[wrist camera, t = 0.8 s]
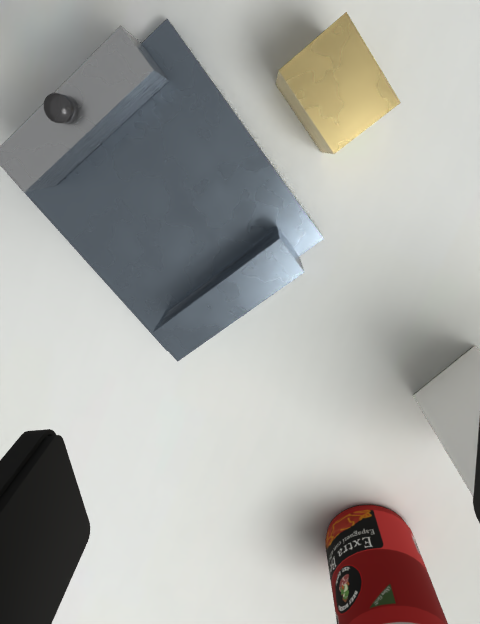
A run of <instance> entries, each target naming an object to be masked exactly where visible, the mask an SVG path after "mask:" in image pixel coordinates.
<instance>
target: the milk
mask: <svg viewBox="0 0 480 624" xmlns="http://www.w3.org/2000/svg"><path fill="white" fill-rule="evenodd" d="M413 397H414V399H415V400H416V402H417V404H418V405H419V407H420V409H421V410H422V412H423V414H424V415H425V417H426V419H427V420H428V422H429V424H430V425H431V427H432V429H433V430H434V432H435V434H436V435H437V437H438V439H439V441H440V442H441V444H442V446H443V447H444V449H445V451H446V452H447V454H448V456H449V457H450V459H451V461H452V462H453V464H454V466H455V467H456V469H457V471H458V472H459V474H460V476H461V477H462V479H463V481H464V482H465V484H466V486H467V487H468V489H469V491H470V492H471V494H472V496H474V483H475V470H476V457H477V444H478V431H479V418H480V349H478V348H477V347H476V346H474V347H472V348H471V349H470V350H469V351H468V352H466V353H465V354H464V355H463V356H461V357H460V358H459V359H458V360H456V361H455V362H454V363H453V364H451V365H450V366H449V367H448V368H446V369H445V370H444V371H443V372H442V373H440V374H439V375H438V376H437V377H435V378H434V379H433V380H432V381H430V382H429V383H428V384H427V385H425V386H424V387H423V388H422V389H420V390H419V391H418V392H417V393H416V394H414V395H413Z"/></svg>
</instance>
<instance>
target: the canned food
mask: <svg viewBox="0 0 480 624" xmlns="http://www.w3.org/2000/svg"><path fill="white" fill-rule="evenodd" d="M326 553H327V559H328V566H329V573H330V579H331V586H332V592H333V599H334V606H335V612H336V619H337V624H448V623H447V621H446V618H445V615H444V613H443V610H442V608H441V605H440V603H439V600H438V597H437V595H436V592H435V590H434V587H433V585H432V582H431V580H430V577H429V574H428V572H427V569H426V567H425V564H424V562H423V559H422V557H421V554H420V551H419V549H418V546H417V544H416V541H415V539H414V536H413V534H412V532H411V529H410V528H409V527H408V525H407V524H406V523H405V522H404V521H403V519H402V518H401V517H400V516H399V515H397V514H396V513H395V512H393V511H391V510H389V509H387V508H384V507H381V506H375V505H361V506H355V507H352V508H349V509H347V510H345V511H343V512H341V513H340V514H338V515H337V516H336V517H335V518H334V519H333V520H332V521H331V523H330V525H329V527H328V531H327V535H326Z"/></svg>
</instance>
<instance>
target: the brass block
mask: <svg viewBox="0 0 480 624" xmlns="http://www.w3.org/2000/svg"><path fill="white" fill-rule="evenodd" d="M276 86H277V87H278V89H279V90H280V92H281V93H282V94H283V96H284V97H285V99H286V100H287V102H288V103H289V105H290V106H291V108H292V109H293V111H294V112H295V114H296V115H297V117H298V118H299V120H300V121H301V123H302V124H303V126H304V127H305V129H306V130H307V132H308V133H309V135H310V136H311V138H312V139H313V141H314V142H315V144H316V145H317V147H318V148H319V150H320V151H321V152H323V153H331V154H335V153H336V152H337V151H339V150H340V149H341V148H343V147H344V146H345V145H346V144H348V143H349V142H350V141H352V140H353V139H354V138H356V137H357V136H358V135H359V134H361V133H362V132H363V131H365V130H366V129H367V128H368V127H370V126H371V125H372V124H374V123H375V122H376V121H378V120H379V119H380V118H381V117H383V116H384V115H385V114H387V113H388V112H389V111H391V110H392V109H393V108H394V107H396V106H397V105H398V104H400V101H399V99H398V98H397V96H396V94H395V93H394V91H393V89H392V88H391V86H390V84H389V83H388V81H387V79H386V77H385V76H384V74H383V72H382V71H381V69H380V67H379V66H378V64H377V62H376V61H375V59H374V57H373V56H372V54H371V52H370V51H369V49H368V47H367V46H366V44H365V42H364V41H363V39H362V37H361V36H360V34H359V32H358V31H357V29H356V27H355V26H354V24H353V22H352V21H351V19H350V17H349V16H348V14H347V12H346V13H345V14H344V15H342V16H341V17H340V18H339V19H338V20H337V21H335V22H334V23H333V24H332V25H331V26H330V27H328V28H327V29H326V30H325V31H324V32H323V33H321V34H320V35H319V36H318V37H317V38H316V39H314V40H313V41H312V42H311V43H310V44H309V45H307V46H306V47H305V48H304V49H303V50H302V51H301V52H299V53H298V54H297V55H296V56H295V57H294V58H292V59H291V60H290V61H289V62H288V63H287V64H285V65H284V66H283V67H282V68H281V69H280V70H279V71H278V76H277V80H276Z"/></svg>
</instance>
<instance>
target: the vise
mask: <svg viewBox="0 0 480 624" xmlns="http://www.w3.org/2000/svg"><path fill="white" fill-rule="evenodd" d="M142 45H143V46H144V47H145V49H146V50H147V51H148V53H149V54H150V56H151V57H152V58H153V60H154V61H155V62H156V64H157V65H158V66H159V68H160V69H161V70H162V72H163V73H164V74H165V76H166V77H167V78H168V80H169V81H168V82H167V83H166V84H165V85H164V86H163V87H162V88H161V89H160V90H159V91H157V92H156V93H155V94H154V95H153V96H152V97H151V98H150V99H149V100H148V101H147V102H146V103H144V104H143V105H142V106H141V107H140V108H139V109H138V110H137V111H136V112H135V113H134V114H133V115H132V116H130V117H129V118H128V119H127V120H126V121H125V122H124V123H123V124H122V125H121V126H120V127H119V128H117V129H116V130H115V131H114V132H113V133H112V134H111V135H110V136H109V137H108V138H107V139H106V140H104V141H103V142H102V143H101V144H100V145H99V146H98V147H97V148H96V149H95V150H94V151H93V152H92V153H90V154H89V155H88V156H87V157H86V158H85V159H84V160H83V161H82V162H81V163H80V164H79V165H77V166H76V167H75V168H74V169H73V170H72V171H71V172H70V173H69V174H68V175H67V176H66V177H65V178H63V179H62V180H61V181H60V182H59V183H58V184H57V185H56V186H53V187H48V188H43V189H38V190H33V191H28V192H24V193H25V194H26V195H27V196H28V197H29V198H30V199H31V200H32V201H33V203H34V204H35V205H36V206H37V207H38V208H39V209H40V210H41V211H42V213H43V214H44V215H45V216H46V217H47V218H48V219H49V220H50V221H51V223H52V224H53V225H54V226H55V227H56V228H57V229H58V230H59V231H60V233H61V234H62V235H63V236H64V237H65V238H66V239H67V240H68V241H69V243H70V244H71V245H72V246H73V247H74V248H75V249H76V250H77V251H78V253H79V254H80V255H81V256H82V257H83V258H84V259H85V260H86V262H87V263H88V264H89V265H90V266H91V267H92V268H93V269H94V270H95V272H96V273H97V274H98V275H99V276H100V277H101V278H102V279H103V280H104V282H105V283H106V284H107V285H108V286H109V287H110V288H111V289H112V290H113V292H114V293H115V294H116V295H117V296H118V297H119V298H120V299H121V300H122V302H123V303H124V304H125V305H126V306H127V307H128V308H129V309H130V310H131V312H132V313H133V314H134V315H135V316H136V317H137V318H138V319H139V320H140V322H141V323H142V324H143V325H144V326H145V327H146V328H147V329H148V330H149V332H150V333H151V334H152V335H153V336H154V337H155V338H156V339H157V340H158V342H159V343H160V344H161V345H162V346H163V347H164V348H165V349H166V350H167V351H169V352H170V354H171V355H172V356H173V357H174V358H175V359H176V360H177V361H179V360H180V359H182V358H183V357H185V356H186V355H188V354H189V353H190V352H192V351H193V350H195V349H196V348H197V347H199V346H200V345H202V344H203V343H205V342H206V341H207V340H209V339H210V338H212V337H213V336H215V335H216V334H217V333H219V332H220V331H222V330H223V329H224V328H226V327H227V326H229V325H230V324H232V323H233V322H234V321H236V320H237V319H239V318H240V317H241V316H243V315H244V314H246V313H247V312H249V311H250V310H251V309H253V308H254V307H256V306H257V305H259V304H260V303H261V302H263V301H264V300H266V299H267V298H268V297H270V296H271V295H273V294H274V293H276V292H277V291H278V290H280V289H281V288H283V287H284V286H285V285H287V284H288V283H290V282H291V281H293V280H294V279H295V278H297V277H298V276H300V275H301V274H302V273H304V269H303V266H302V263H301V260H300V257H299V256H300V255H302V254H303V253H304V252H306V251H307V250H309V249H310V248H311V247H313V246H314V245H316V244H317V243H318V242H320V241H321V240H323V239H324V238H323V236H322V235H321V234H320V232H319V231H318V229H317V228H316V227H315V225H314V224H313V222H312V221H311V220H310V218H309V217H308V215H307V214H306V212H305V211H304V210H303V208H302V207H301V205H300V204H299V203H298V201H297V200H296V198H295V197H294V196H293V194H292V193H291V191H290V190H289V189H288V187H287V186H286V184H285V183H284V182H283V180H282V179H281V177H280V176H279V175H278V173H277V172H276V170H275V169H274V168H273V166H272V165H271V163H270V162H269V161H268V159H267V158H266V156H265V155H264V154H263V152H262V151H261V149H260V148H259V147H258V145H257V144H256V142H255V141H254V140H253V138H252V137H251V135H250V134H249V132H248V131H247V130H246V128H245V127H244V125H243V124H242V123H241V121H240V120H239V118H238V117H237V116H236V114H235V113H234V111H233V110H232V109H231V107H230V106H229V104H228V103H227V102H226V100H225V99H224V97H223V96H222V95H221V93H220V92H219V90H218V89H217V88H216V86H215V85H214V83H213V82H212V81H211V79H210V78H209V76H208V75H207V74H206V72H205V71H204V69H203V68H202V67H201V65H200V64H199V62H198V61H197V60H196V58H195V57H194V55H193V54H192V52H191V51H190V50H189V48H188V47H187V45H186V44H185V43H184V41H183V40H182V38H181V37H180V36H179V34H178V33H177V31H176V30H175V29H174V27H173V26H172V24H171V23H170V22H169V20H168V19H166V20H165V21H164V22H163V23H162V24H161V25H160V26H159V27H158V28H157V29H156V30H155V31H154V32H153V33H152V34H151V35H150V36H149V37H148V38H147V39H146V40H145V41H144V42H143V43H142ZM15 183H16V182H15ZM16 184H17V183H16Z"/></svg>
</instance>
